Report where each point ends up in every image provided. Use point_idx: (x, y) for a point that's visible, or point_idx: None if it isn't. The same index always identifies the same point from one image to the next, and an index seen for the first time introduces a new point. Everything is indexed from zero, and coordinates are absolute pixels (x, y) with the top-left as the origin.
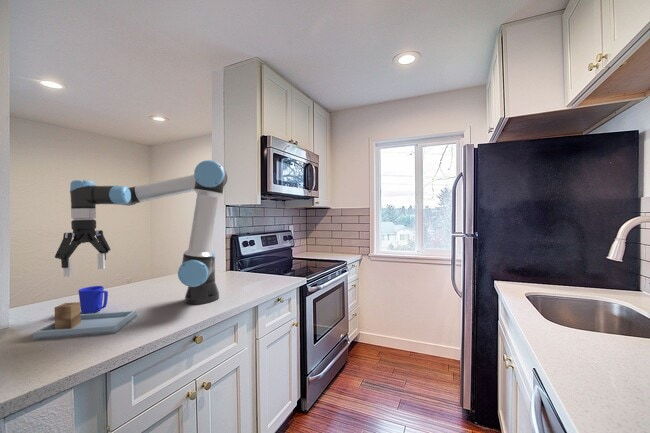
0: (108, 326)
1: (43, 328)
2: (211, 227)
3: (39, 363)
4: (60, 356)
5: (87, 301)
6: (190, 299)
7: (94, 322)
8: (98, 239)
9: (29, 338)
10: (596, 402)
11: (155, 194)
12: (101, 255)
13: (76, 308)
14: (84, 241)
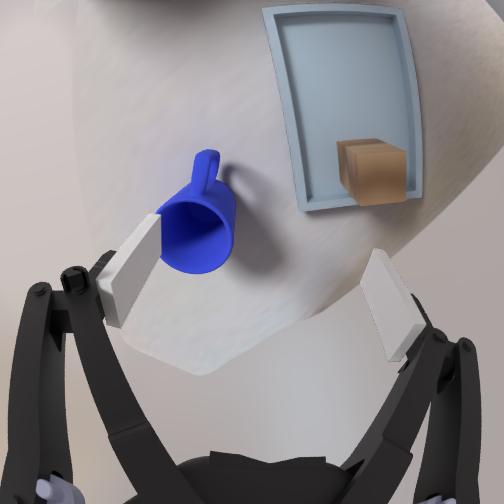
0: (404, 23)
1: None
2: None
3: (499, 100)
4: (484, 77)
5: (232, 208)
6: None
7: (332, 102)
8: (62, 436)
9: (401, 209)
10: None
11: None
12: (120, 286)
13: (372, 149)
14: (309, 473)
